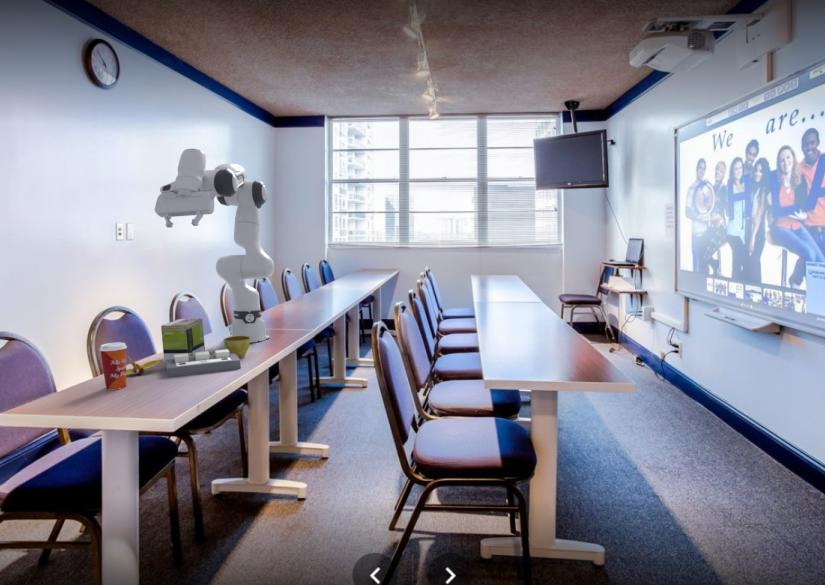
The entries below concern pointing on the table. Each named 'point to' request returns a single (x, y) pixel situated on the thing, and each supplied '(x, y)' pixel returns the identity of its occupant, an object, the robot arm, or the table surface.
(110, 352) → the paper cup
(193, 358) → the button board
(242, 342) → the flower pot
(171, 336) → the tea box
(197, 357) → the button middle
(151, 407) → the table surface
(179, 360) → the button
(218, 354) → the button
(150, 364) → the origami crane
